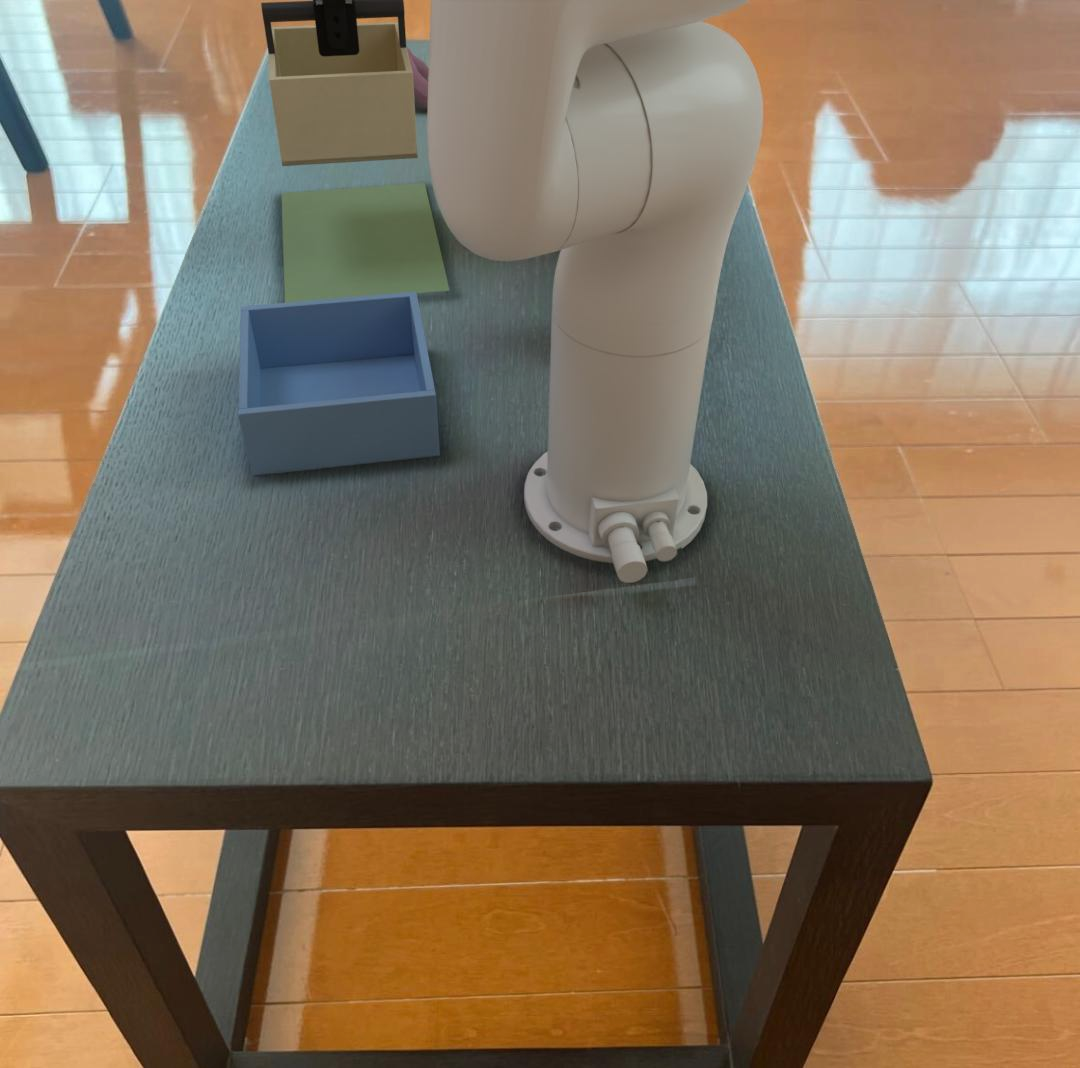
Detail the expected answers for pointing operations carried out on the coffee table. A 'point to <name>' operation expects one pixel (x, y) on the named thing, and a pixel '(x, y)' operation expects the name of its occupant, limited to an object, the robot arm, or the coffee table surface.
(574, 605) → the coffee table surface
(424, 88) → the pink curved piece
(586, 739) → the coffee table surface
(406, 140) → the cream bin
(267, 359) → the blue bin
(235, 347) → the coffee table surface
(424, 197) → the mat
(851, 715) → the coffee table surface
